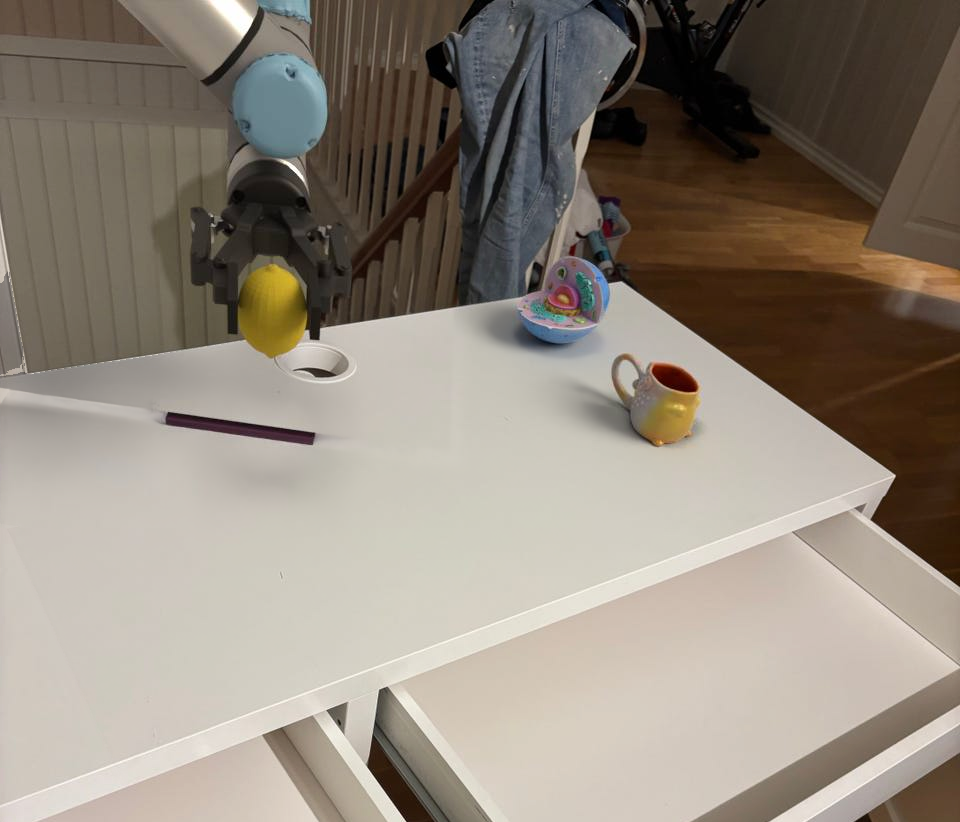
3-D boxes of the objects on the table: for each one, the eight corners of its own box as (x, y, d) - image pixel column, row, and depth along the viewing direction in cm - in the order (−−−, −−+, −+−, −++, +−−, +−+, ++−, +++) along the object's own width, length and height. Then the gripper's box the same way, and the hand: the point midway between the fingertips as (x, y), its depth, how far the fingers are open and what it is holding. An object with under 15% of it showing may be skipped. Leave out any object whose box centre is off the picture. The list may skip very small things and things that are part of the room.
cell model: (493, 329, 119) (507, 252, 112) (561, 311, 125) (579, 238, 119) (549, 367, 114) (567, 289, 107) (617, 347, 121) (638, 272, 114)
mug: (700, 440, 108) (720, 386, 103) (656, 453, 104) (675, 398, 100) (629, 386, 114) (645, 333, 110) (586, 396, 111) (600, 342, 106)
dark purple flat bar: (165, 424, 93) (165, 417, 92) (177, 397, 97) (176, 390, 96) (312, 445, 95) (313, 438, 94) (318, 418, 98) (319, 411, 98)
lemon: (266, 334, 84) (267, 243, 79) (318, 358, 83) (323, 267, 77) (223, 356, 81) (221, 262, 75) (277, 382, 79) (279, 288, 74)
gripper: (365, 250, 95) (390, 373, 79) (166, 231, 90) (150, 357, 74) (372, 169, 90) (400, 284, 74) (161, 145, 85) (143, 261, 69)
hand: (274, 320), depth 74 cm, fingers closed on lemon, 5 cm apart
